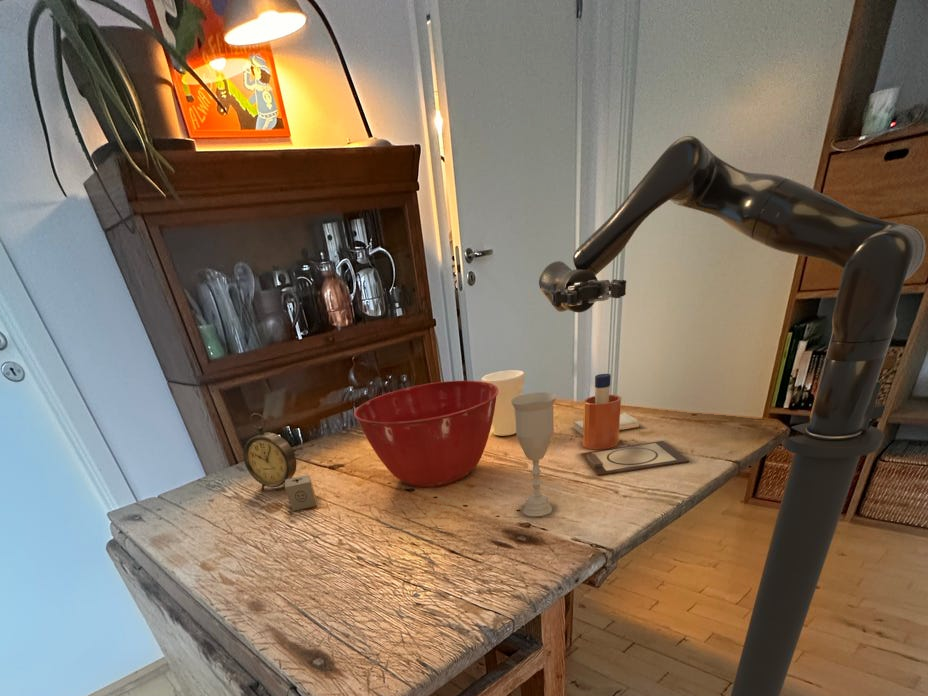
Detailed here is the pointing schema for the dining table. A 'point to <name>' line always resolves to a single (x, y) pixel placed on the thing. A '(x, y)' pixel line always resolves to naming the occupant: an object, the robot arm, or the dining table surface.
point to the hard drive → (625, 423)
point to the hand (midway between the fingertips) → (597, 295)
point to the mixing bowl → (430, 430)
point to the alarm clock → (269, 458)
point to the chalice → (535, 440)
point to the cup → (505, 399)
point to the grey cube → (300, 492)
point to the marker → (602, 388)
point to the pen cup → (601, 423)
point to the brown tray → (633, 458)
